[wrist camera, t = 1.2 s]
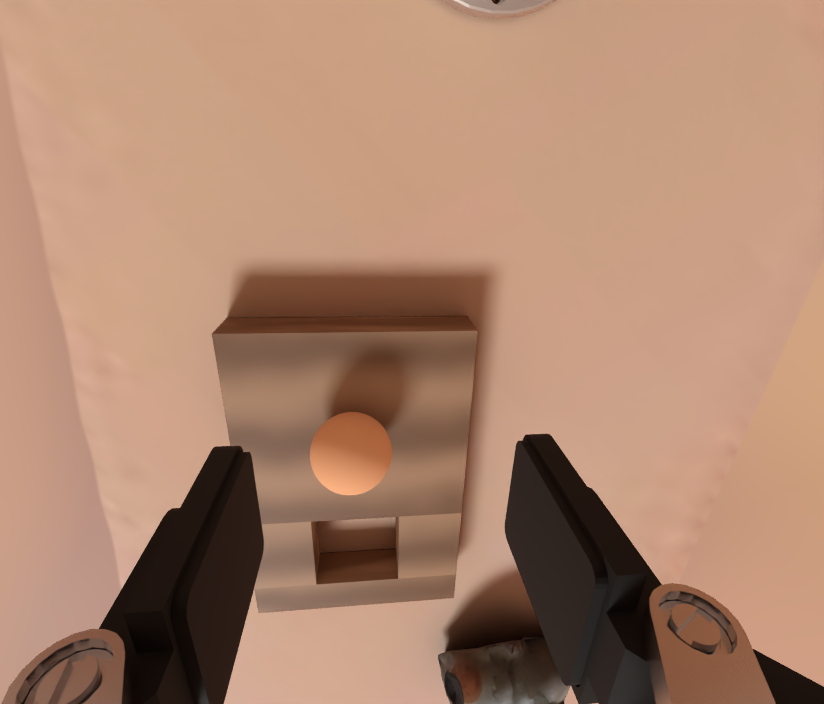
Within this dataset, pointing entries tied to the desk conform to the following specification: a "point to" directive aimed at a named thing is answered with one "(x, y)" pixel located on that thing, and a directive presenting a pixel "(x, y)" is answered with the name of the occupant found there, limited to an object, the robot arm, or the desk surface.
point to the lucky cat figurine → (503, 674)
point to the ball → (350, 453)
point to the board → (339, 393)
